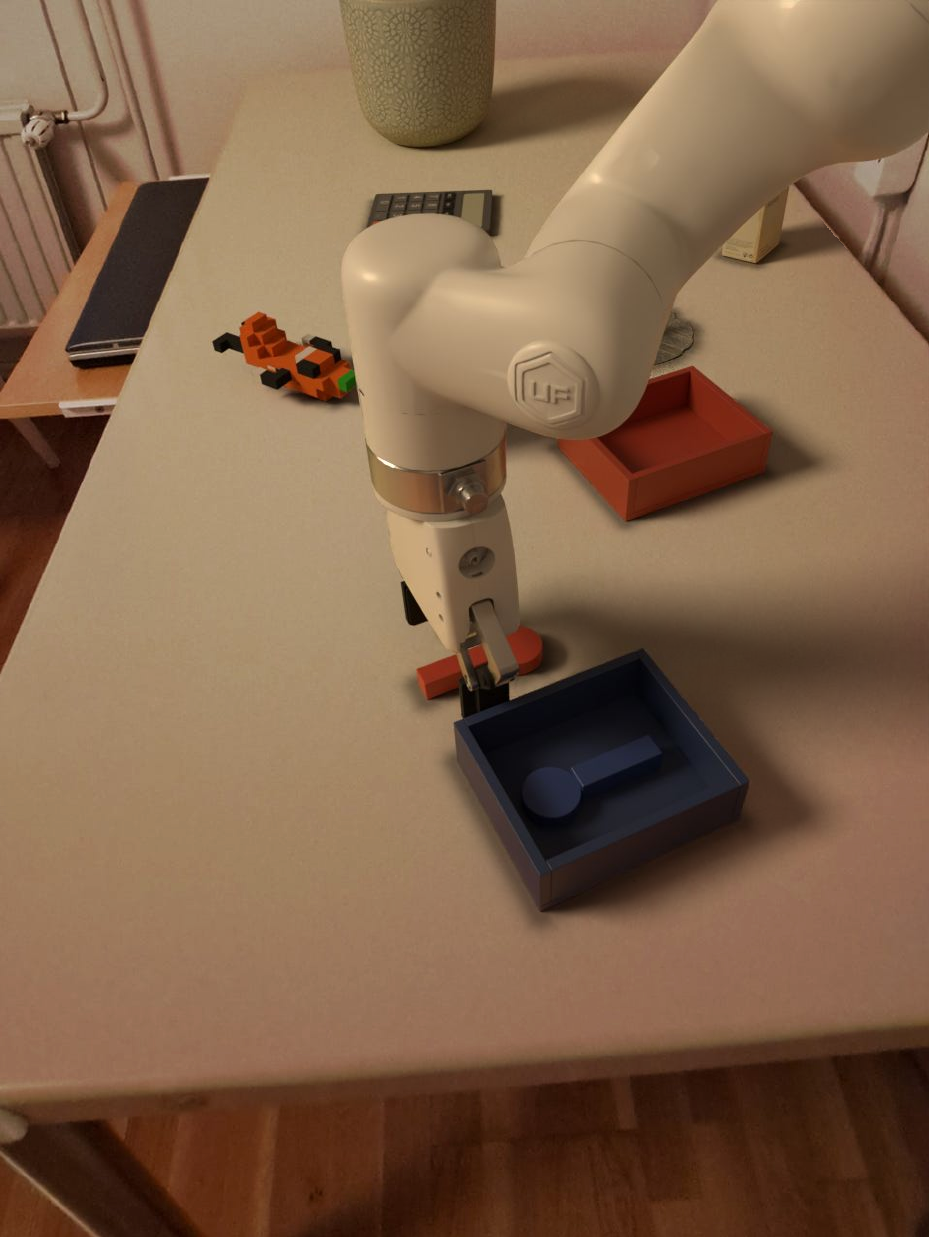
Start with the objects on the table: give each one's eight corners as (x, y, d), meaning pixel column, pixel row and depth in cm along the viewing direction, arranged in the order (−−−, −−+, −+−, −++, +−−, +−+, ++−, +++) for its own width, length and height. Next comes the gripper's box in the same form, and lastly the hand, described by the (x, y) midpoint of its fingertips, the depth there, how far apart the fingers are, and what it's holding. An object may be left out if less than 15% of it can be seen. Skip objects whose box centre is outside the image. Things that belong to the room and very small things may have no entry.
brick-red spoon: (432, 710, 63) (430, 695, 62) (412, 673, 65) (410, 658, 64) (551, 664, 65) (551, 648, 64) (528, 630, 67) (527, 614, 66)
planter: (434, 98, 147) (424, -48, 133) (529, 128, 135) (528, -28, 122) (328, 137, 137) (305, -16, 124) (420, 173, 126) (406, 9, 113)
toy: (257, 290, 93) (375, 328, 86) (270, 345, 97) (383, 385, 91) (199, 327, 88) (318, 369, 82) (215, 382, 93) (329, 426, 86)
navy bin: (638, 687, 63) (643, 647, 60) (739, 819, 56) (751, 781, 53) (457, 761, 60) (452, 722, 57) (539, 912, 52) (539, 876, 50)
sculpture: (694, 370, 90) (644, 313, 86) (618, 417, 96) (568, 366, 92) (692, 301, 98) (646, 246, 94) (622, 348, 103) (576, 298, 99)
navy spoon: (638, 737, 60) (640, 722, 58) (669, 780, 57) (672, 765, 56) (511, 790, 57) (510, 775, 56) (538, 837, 55) (538, 822, 54)
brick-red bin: (687, 404, 86) (692, 365, 83) (764, 472, 78) (773, 431, 75) (557, 447, 82) (558, 407, 79) (625, 521, 75) (629, 480, 72)
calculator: (375, 192, 120) (492, 187, 119) (376, 199, 121) (492, 195, 120) (364, 232, 112) (489, 228, 111) (365, 240, 113) (489, 236, 112)
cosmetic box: (756, 265, 103) (776, 149, 94) (719, 256, 105) (735, 141, 96) (780, 243, 106) (802, 129, 98) (744, 234, 108) (762, 121, 100)
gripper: (575, 528, 47) (565, 735, 59) (438, 364, 58) (454, 567, 70) (436, 577, 45) (457, 780, 57) (322, 397, 56) (360, 600, 68)
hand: (455, 662), depth 64 cm, fingers open, 9 cm apart
